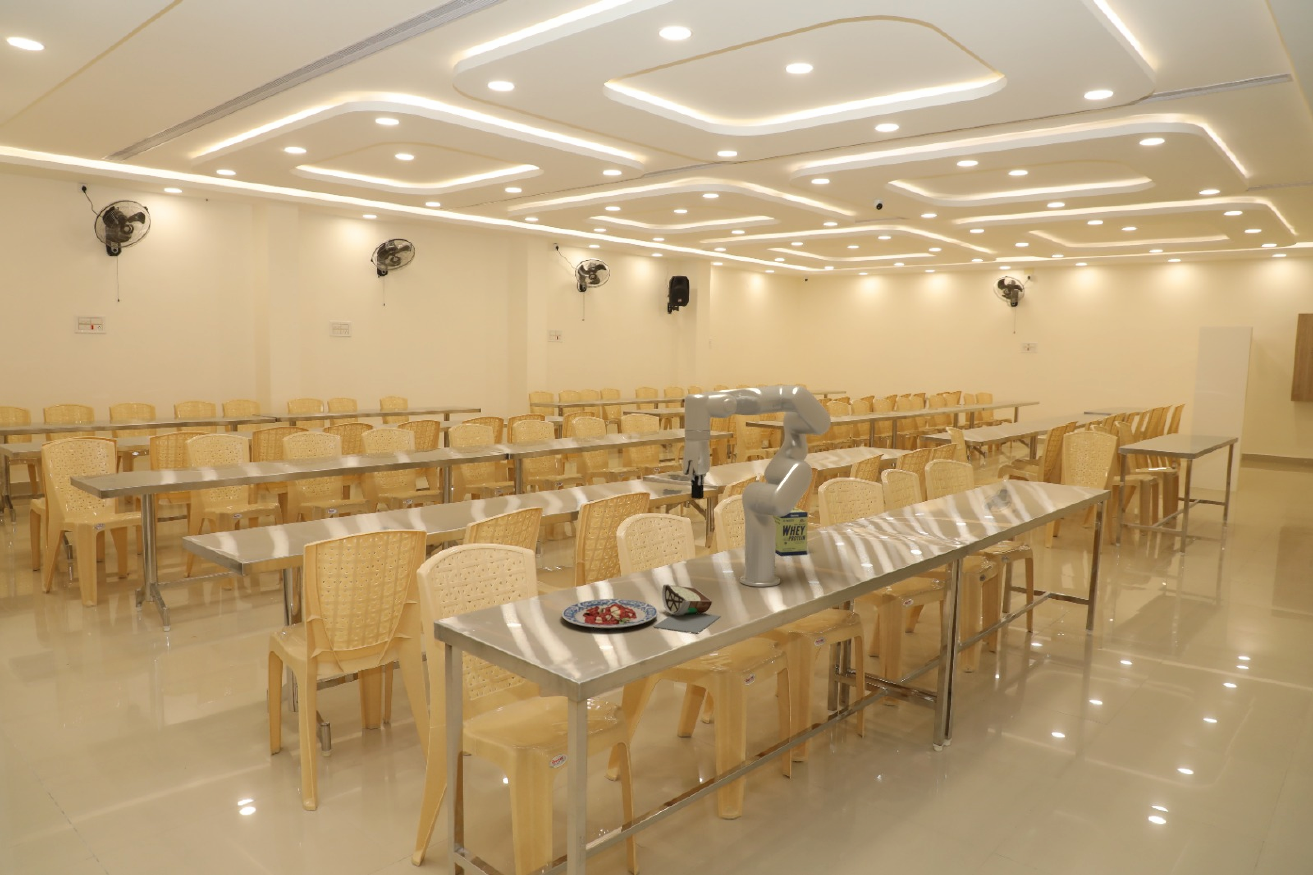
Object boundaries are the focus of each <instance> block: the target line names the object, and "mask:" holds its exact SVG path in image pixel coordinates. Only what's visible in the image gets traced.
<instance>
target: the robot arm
mask: <svg viewBox="0 0 1313 875" xmlns="http://www.w3.org/2000/svg"><path fill="white" fill-rule="evenodd" d="M776 413H784V415H783V418H782V422H783V423H782V425H783V430H784V440H783V442H782V445H781V447H780V448H779V449H778V450H777V452H776V453H775V455H773V457H772V458H771V460H770V461H769V462H768V464H767V465H766V467H765V469H764V472H763V477H764V480H765V481H766V482H763V481H752V482H750V483H749V484H747V485H746V486H745V487H744V489H743V491H742V495H741V502H742V508H743V514H744V574H743V575H742V576H739V582H740V583H741V584H742V585H745V586H750V587H758V588H759V587H760V588H764V587H773V586H774V587H775V586H777V585H779V584H780V583H781V578H780V577H779V576H776V568H777V567H776V553H775V538H776V526H775V521H774V518H773V516H779V517H781V516H785V515H787V514H789V513H790V512H791V511H792V509H793V508H794V507H796V506H797V504H798V503H799V501H800V500H801V499H802V497H803V496H804V494H805V493H806V492H807V490H808V489H809V487H810V486H811V482H812V481H813V480H812V479H813V469H812V467H811V465H810V463H809V462H807V461H805V460H806V458H807V456H808V453H809V446H808V441H807V436H806V435H809V436H810V435H811V436H822V435H824V434H826V433H828V431H829V429H830V428H831V422H832V421H831V420H832V419H831V416H830V413H829V412H828V410H827V409H826V408H825V407H824V406H823V404H821V402H820V401H819V400H818V399H817V397H815V395H814V394H812V392H811V391H809V389H807V388H805V387H804V386H802V385H797V384H796V385H795V384H794V385H793V384H792V385H791V384H790V385H789V384H788V385H787V384H778V385H766V386H754V387H745V388H744V387H743V388H735V389H725V390H723V389H722V390H713V391H702V392H700V393H689V394H687V395H686V396H685V397H684V445H683V446H684V448H683V461H682V474H683V475H684V476H687V477H688V481H690V485H691V490H690V491H691V492H690V494H691V495H690V496H691V498H692V499H696V500H697V499H699V500H701V499H704V490H705V489H704V488H705V487H704V484H705V477H706V476H707V473H709V472H710V468H711V456H710V453H711V452H710V443H709V442H711V418H716V419H727V418H730V417H732V416H733V415H738V416H739V415H741V416H759V415H767V414H776Z"/></svg>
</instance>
